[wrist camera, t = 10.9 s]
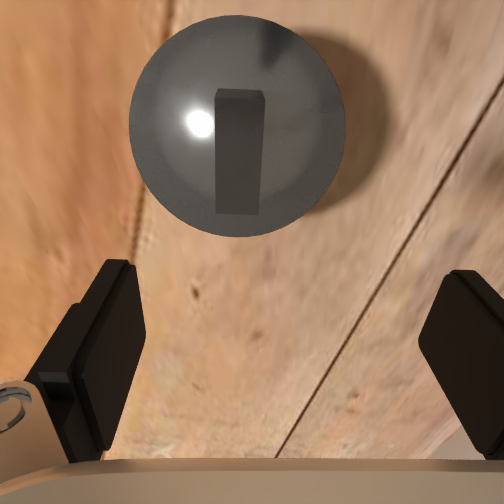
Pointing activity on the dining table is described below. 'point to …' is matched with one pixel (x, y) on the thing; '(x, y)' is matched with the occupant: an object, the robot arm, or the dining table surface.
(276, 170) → the lid
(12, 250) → the dining table surface
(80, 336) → the robot arm
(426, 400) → the dining table surface
